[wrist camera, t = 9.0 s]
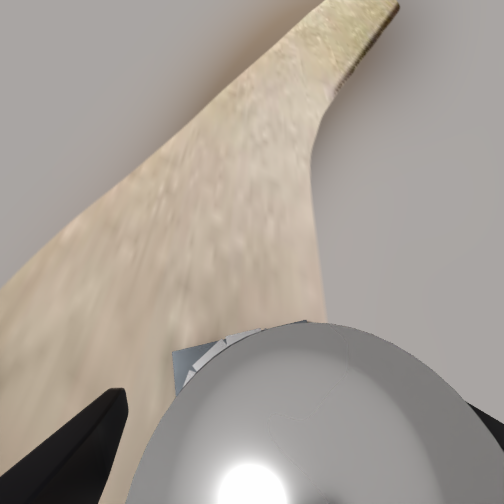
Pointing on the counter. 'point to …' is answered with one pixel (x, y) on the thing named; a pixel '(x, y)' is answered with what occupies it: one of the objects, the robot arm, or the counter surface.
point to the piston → (318, 428)
